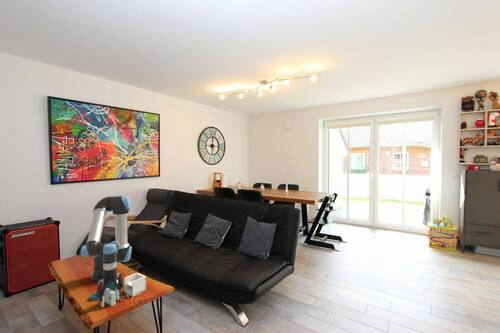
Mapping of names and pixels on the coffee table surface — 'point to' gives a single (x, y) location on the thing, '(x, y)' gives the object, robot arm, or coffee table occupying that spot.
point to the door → (110, 297)
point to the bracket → (93, 296)
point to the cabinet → (134, 284)
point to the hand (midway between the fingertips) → (110, 302)
